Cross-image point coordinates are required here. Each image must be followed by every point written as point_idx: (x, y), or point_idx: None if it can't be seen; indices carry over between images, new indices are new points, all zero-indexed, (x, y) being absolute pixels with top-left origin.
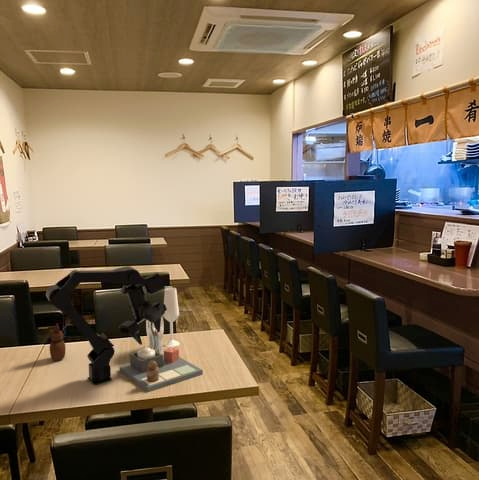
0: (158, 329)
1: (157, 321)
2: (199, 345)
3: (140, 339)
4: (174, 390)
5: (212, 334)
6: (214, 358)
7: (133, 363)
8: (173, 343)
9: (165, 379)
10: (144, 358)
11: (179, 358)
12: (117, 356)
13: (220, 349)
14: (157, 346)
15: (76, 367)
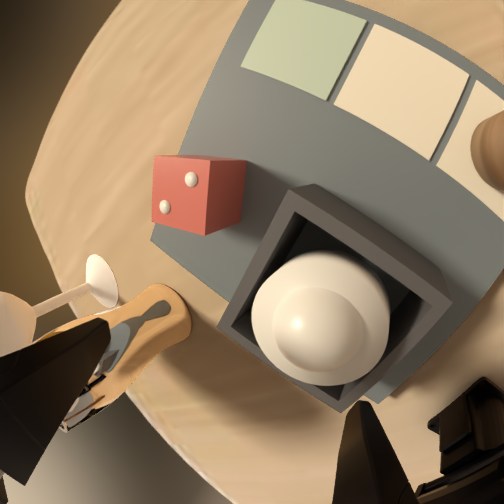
0: (90, 340)
1: (20, 393)
2: (75, 183)
3: (377, 454)
4: (488, 25)
5: (35, 195)
6: (127, 59)
7: None
8: (98, 273)
9: (466, 82)
10: (388, 305)
11: None
12: (257, 427)
13: (76, 100)
14: (152, 313)
15: None
